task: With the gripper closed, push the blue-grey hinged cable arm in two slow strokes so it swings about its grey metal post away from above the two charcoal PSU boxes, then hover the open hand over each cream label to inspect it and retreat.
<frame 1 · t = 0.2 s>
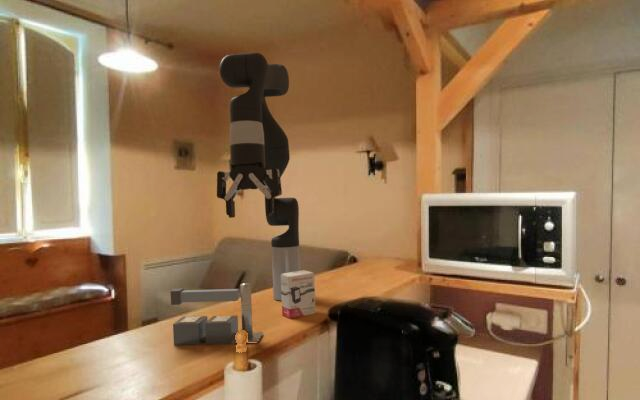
hand: (250, 216, 90), 29 cm above the counter, fingers open, 8 cm apart
cable arm: (205, 295, 96), point 11 cm above the counter, hinge at 0.0°
psu A: (222, 340, 96), on the counter
psu B: (191, 341, 96), on the counter
ink box: (299, 315, 115), on the counter
post: (247, 339, 96), on the counter
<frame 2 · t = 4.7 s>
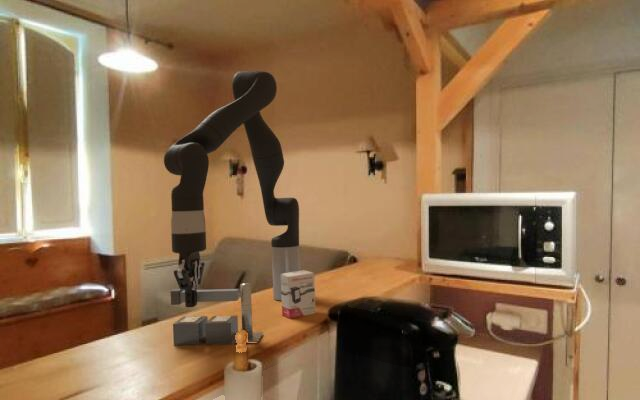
hand: (191, 306, 93), 9 cm above the counter, fingers closed
cable arm: (205, 295, 96), point 10 cm above the counter, hinge at 0.1°, touching gripper
everything else where it was.
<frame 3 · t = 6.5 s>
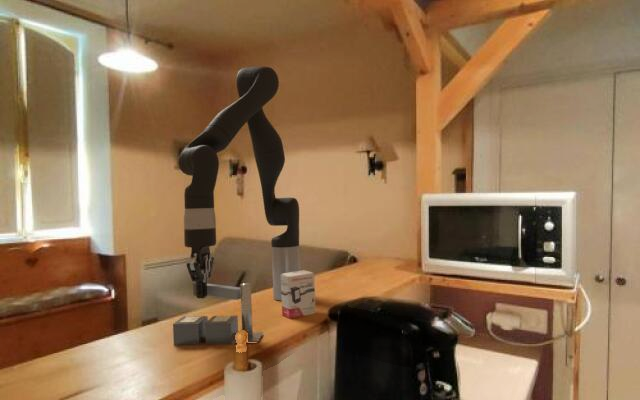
hand: (202, 297, 100), 9 cm above the counter, fingers closed
cable arm: (217, 290, 101), point 10 cm above the counter, hinge at 31.7°, touching gripper
everything else where it was.
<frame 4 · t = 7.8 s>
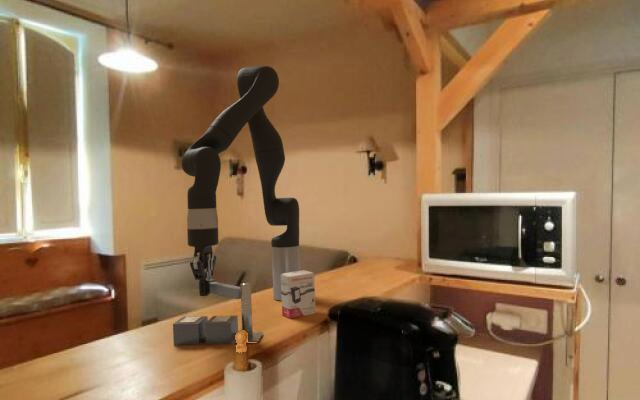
hand: (204, 295, 103), 9 cm above the counter, fingers closed
cable arm: (223, 289, 102), point 10 cm above the counter, hinge at 40.7°, touching gripper
everything else where it was.
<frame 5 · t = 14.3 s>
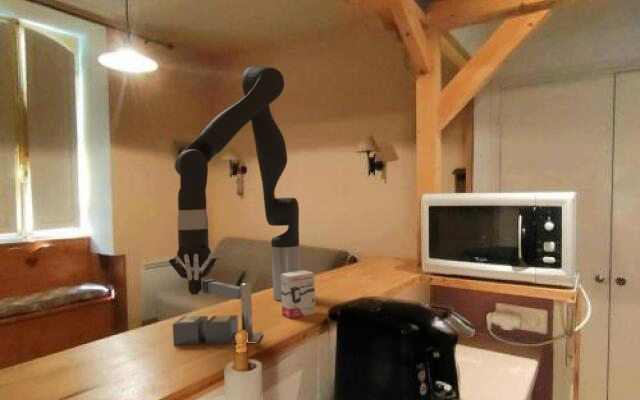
hand: (195, 293, 106), 9 cm above the counter, fingers closed
cable arm: (223, 289, 102), point 10 cm above the counter, hinge at 41.5°, touching gripper
everything else where it was.
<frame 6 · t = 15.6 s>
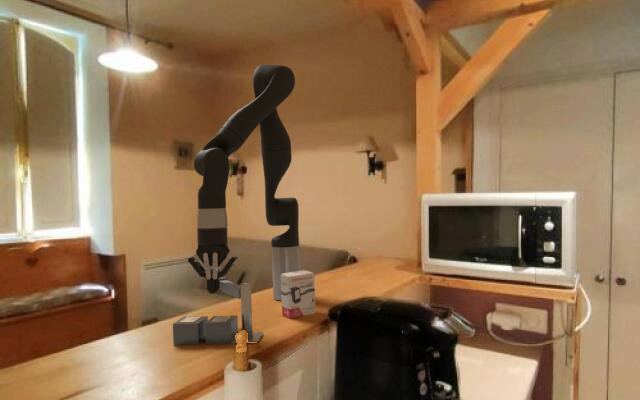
hand: (213, 293, 105), 9 cm above the counter, fingers closed
cable arm: (230, 288, 104), point 11 cm above the counter, hinge at 53.0°
everything else where it was.
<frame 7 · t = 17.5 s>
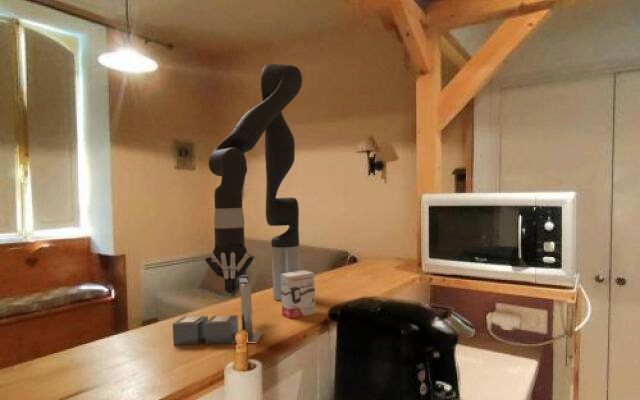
hand: (231, 292, 105), 9 cm above the counter, fingers closed
cable arm: (244, 286, 105), point 11 cm above the counter, hinge at 73.7°, touching gripper
everything else where it was.
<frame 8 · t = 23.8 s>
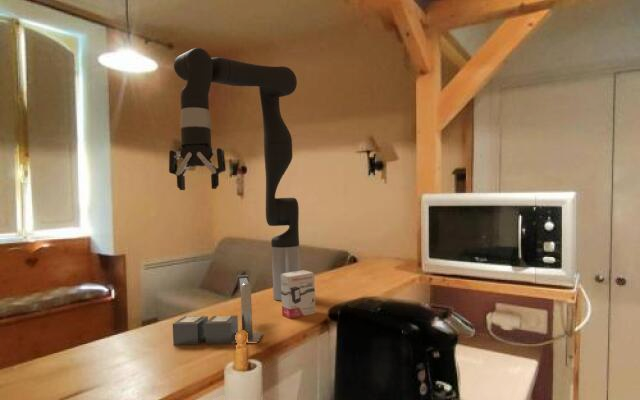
hand: (198, 189, 106), 36 cm above the counter, fingers open, 8 cm apart
cable arm: (244, 286, 105), point 10 cm above the counter, hinge at 73.9°
everything else where it was.
at the end: cable arm at +74° (first picture: +0°); psu A moved 0.2 cm from its start; psu B moved 0.2 cm from its start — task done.
